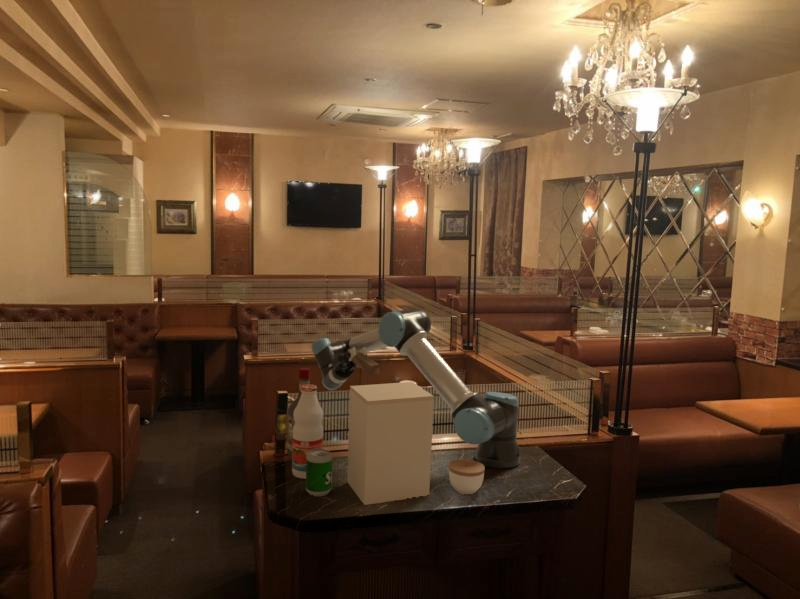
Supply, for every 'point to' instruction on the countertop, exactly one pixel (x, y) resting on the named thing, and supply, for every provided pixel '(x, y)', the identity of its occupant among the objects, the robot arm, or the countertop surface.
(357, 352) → the dark brown wooden post
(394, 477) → the pedestal
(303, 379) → the liquor
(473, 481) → the lidded jar
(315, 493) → the soda can
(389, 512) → the countertop surface
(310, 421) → the fruit juice
